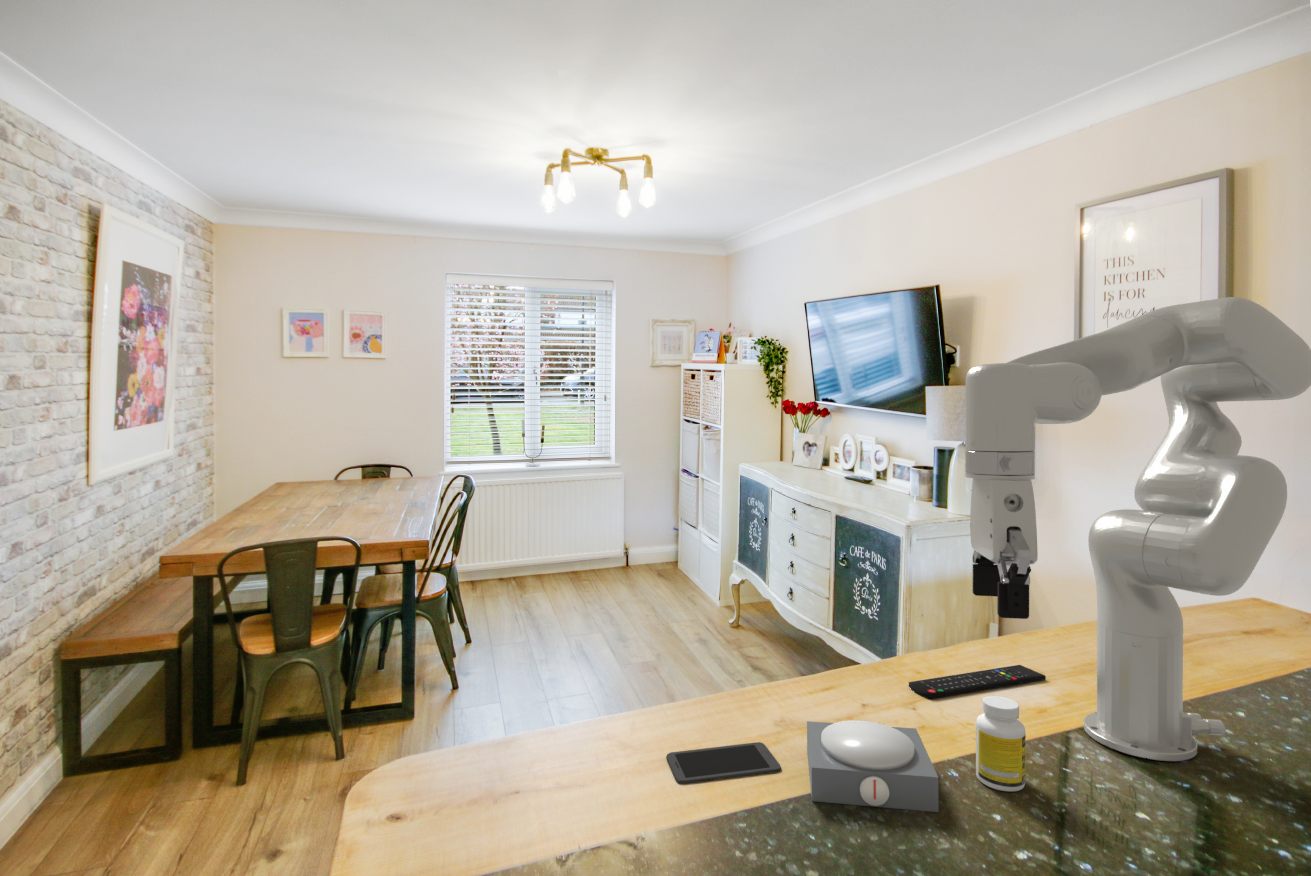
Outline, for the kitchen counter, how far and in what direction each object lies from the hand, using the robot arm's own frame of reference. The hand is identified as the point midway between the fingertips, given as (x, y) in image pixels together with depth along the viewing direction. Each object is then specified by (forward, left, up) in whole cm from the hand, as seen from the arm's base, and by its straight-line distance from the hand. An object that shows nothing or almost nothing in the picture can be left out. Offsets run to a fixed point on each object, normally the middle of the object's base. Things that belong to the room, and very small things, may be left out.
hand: (998, 605), depth 80 cm
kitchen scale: (+16, +2, -22) cm, 27 cm away
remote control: (-6, -31, -23) cm, 39 cm away
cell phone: (+34, +1, -22) cm, 41 cm away
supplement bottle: (0, 0, -22) cm, 22 cm away
